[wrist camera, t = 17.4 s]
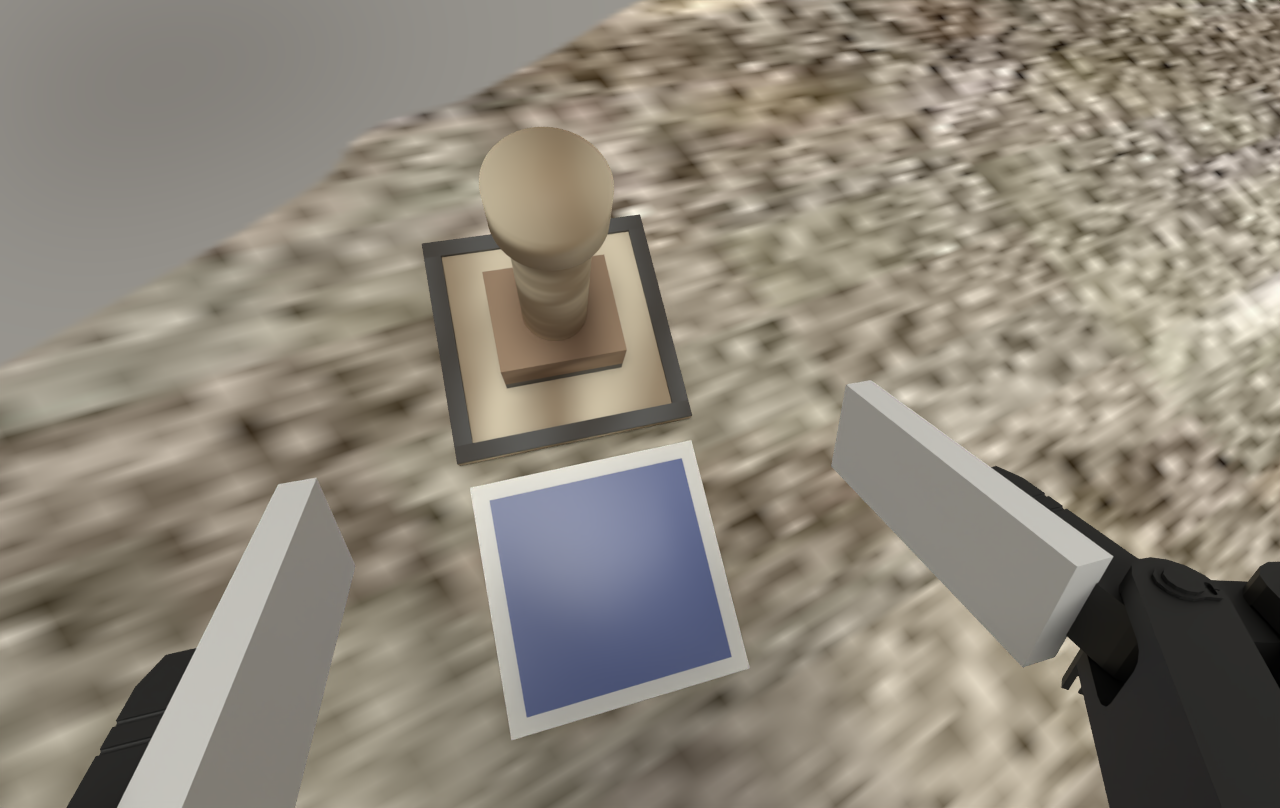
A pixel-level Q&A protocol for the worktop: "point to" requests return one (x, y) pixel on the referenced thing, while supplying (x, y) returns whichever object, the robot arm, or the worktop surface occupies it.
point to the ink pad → (604, 586)
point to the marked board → (560, 407)
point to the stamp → (550, 257)
